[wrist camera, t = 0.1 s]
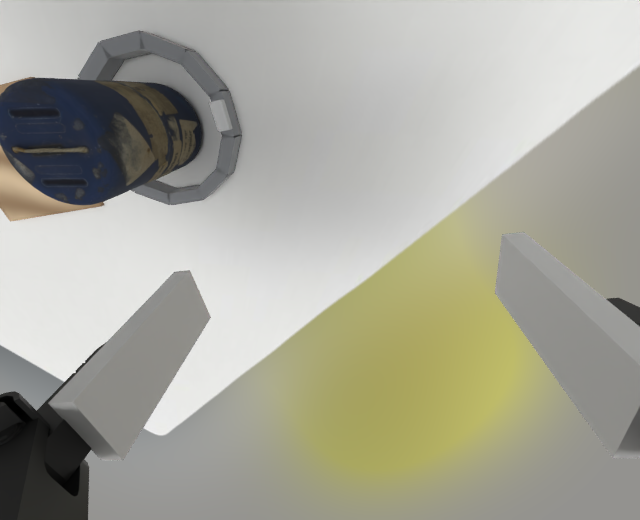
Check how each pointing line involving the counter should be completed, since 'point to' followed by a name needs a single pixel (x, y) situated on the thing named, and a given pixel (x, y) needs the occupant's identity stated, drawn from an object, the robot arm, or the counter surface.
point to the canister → (95, 135)
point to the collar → (140, 43)
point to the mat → (26, 192)
